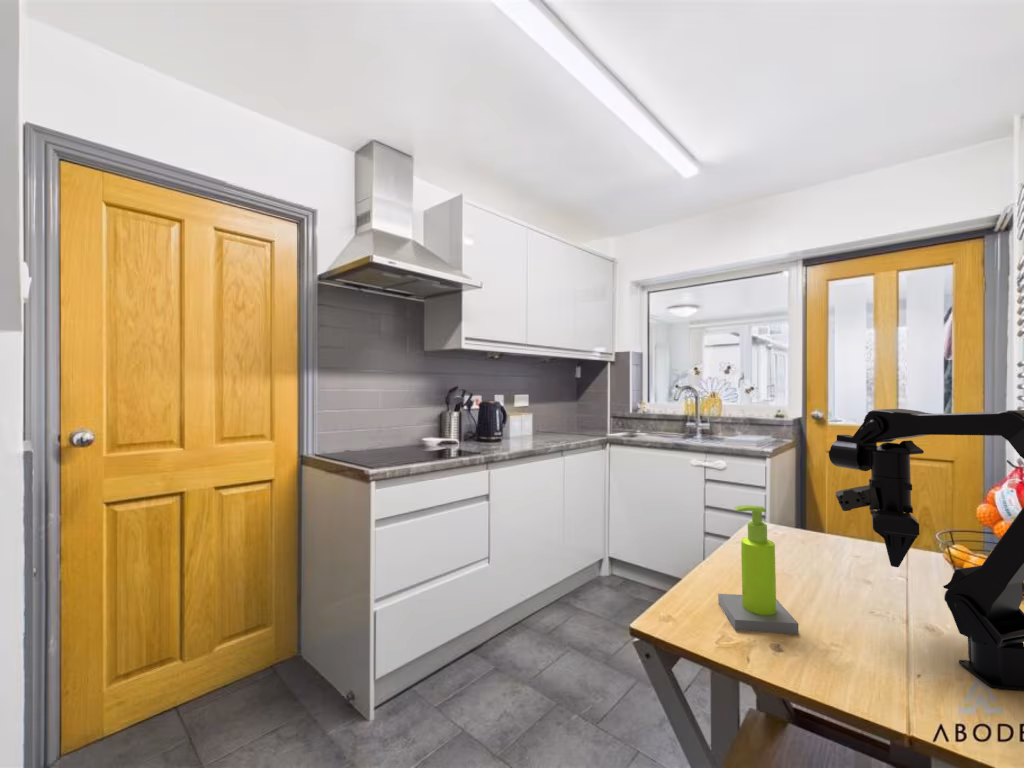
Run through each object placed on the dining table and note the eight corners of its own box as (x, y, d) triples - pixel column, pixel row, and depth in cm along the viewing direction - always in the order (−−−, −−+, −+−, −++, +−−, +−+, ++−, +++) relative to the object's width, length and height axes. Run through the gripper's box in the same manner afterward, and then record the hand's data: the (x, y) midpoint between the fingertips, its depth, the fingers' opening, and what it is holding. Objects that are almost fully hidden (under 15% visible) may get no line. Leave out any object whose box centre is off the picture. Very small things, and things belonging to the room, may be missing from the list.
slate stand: (798, 634, 84) (798, 623, 84) (735, 630, 86) (734, 619, 86) (774, 605, 95) (774, 596, 95) (718, 603, 97) (718, 593, 97)
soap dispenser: (733, 599, 94) (731, 502, 94) (770, 602, 93) (767, 503, 93) (742, 613, 88) (739, 510, 89) (781, 616, 87) (778, 511, 87)
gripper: (838, 464, 99) (840, 537, 98) (837, 479, 83) (839, 565, 83) (906, 469, 92) (908, 547, 92) (918, 486, 77) (921, 579, 77)
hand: (892, 558), depth 86 cm, fingers open, 9 cm apart
